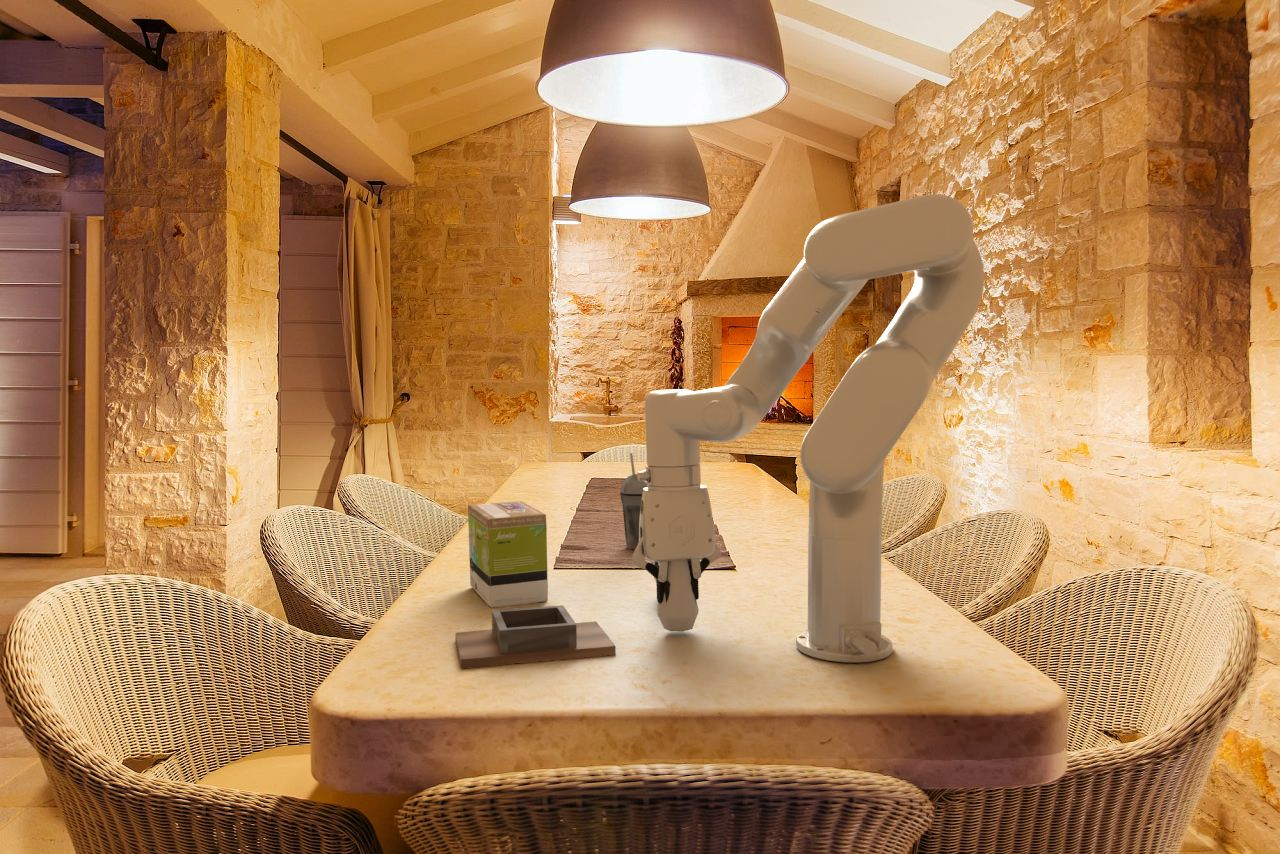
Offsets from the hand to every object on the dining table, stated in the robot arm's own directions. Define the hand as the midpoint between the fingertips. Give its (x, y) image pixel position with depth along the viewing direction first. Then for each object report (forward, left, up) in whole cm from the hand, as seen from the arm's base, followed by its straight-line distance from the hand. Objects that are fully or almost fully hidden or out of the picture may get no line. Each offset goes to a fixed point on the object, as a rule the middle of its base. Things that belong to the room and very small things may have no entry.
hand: (678, 605), depth 127 cm
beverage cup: (+61, -10, -4) cm, 62 cm away
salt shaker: (0, 0, -3) cm, 3 cm away
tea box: (+29, +21, -5) cm, 36 cm away
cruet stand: (-1, +21, -4) cm, 21 cm away
